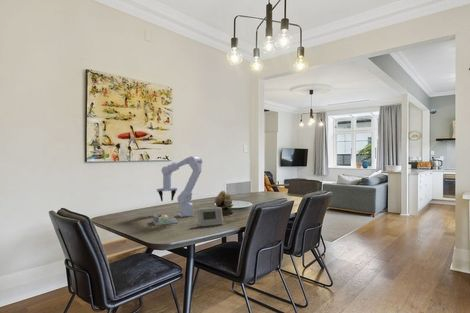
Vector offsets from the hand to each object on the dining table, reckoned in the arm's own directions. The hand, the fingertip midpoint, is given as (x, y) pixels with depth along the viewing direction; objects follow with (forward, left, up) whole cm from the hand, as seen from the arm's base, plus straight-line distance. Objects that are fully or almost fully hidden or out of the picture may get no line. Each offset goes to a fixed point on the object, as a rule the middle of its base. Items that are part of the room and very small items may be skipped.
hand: (167, 200), depth 215 cm
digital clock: (-18, +44, -10) cm, 49 cm away
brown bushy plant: (-40, +14, -10) cm, 43 cm away
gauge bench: (+7, +26, -9) cm, 29 cm away
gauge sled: (+8, +26, -8) cm, 28 cm away
